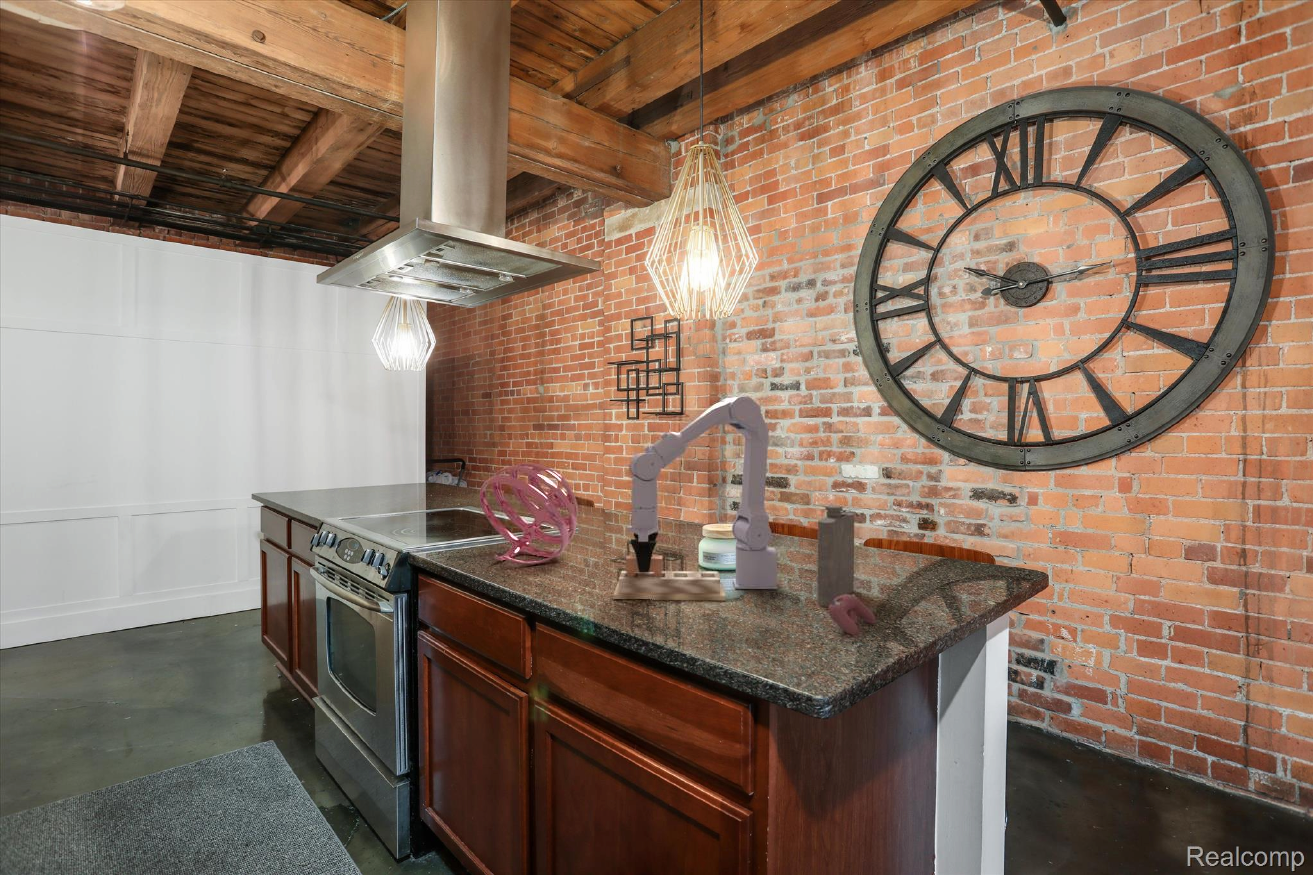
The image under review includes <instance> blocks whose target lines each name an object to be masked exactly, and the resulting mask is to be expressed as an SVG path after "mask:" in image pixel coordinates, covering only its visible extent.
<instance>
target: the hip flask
mask: <svg viewBox="0 0 1313 875" xmlns="http://www.w3.org/2000/svg"><path fill="white" fill-rule="evenodd" d="M824 510H826V513H825V514H826V516H824V517H821V519H819V520H817V588H816V589H817V593H816V594H817V596H816V597H817V600H816V601H817V602H816V603H817V605H818V606H820V607H821V606H822V607H829V605H830V604H832V602H833V601H834V599H835V598H836V597H838V596H840V595H844V594H848V595H850V594H851V593H854V590H855V588H854V587H855V586H854V584H855V581H854V580H855V513H853V512H852V513H851V512H842V511H843V506H841V505H836V504H835V505H831V504H829V505H825V508H824Z"/></svg>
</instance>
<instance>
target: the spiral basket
mask: <svg viewBox="0 0 1313 875" xmlns="http://www.w3.org/2000/svg"><path fill="white" fill-rule="evenodd" d="M530 467H532V468H530ZM507 471H510V472H509V475H507V474H506V475H505V474H503V473H505V472H507ZM541 472H545V474H546V473H547V474H548V475H549V476H551V477H552V478H553V479H555V480H556V481H557V482H558V483H559V485H561V486H562V488H564V490H566V492H567V494H566V492H565V491H564V490H563V489H561V488H560V487H559V486H558V485H556V483H555V482H553V481H552V480H551V479H550V478H548V477H547V476H545V475H544V474H542V473H541ZM520 473H523V474H526V475H527V476H528V482H529V483H528V482H526V481H525V480H522V479H520V478H519V474H520ZM539 482H541V483H542V484H543V485H545V486H546V487H547V488H548V489H549V490H550V491H551V492H550V493H548V492H546V491H545V490H544V489H543V487H542V485H541V484H540V483H539ZM490 484H491V486H492V492H493V496H494V498H495V500H496V502H497V504H498V506H499V507H500V509H501V510H502V512H503V513H504V514H505V515H506V517H507V518H508V519H509V520H510V521H511V522H512V523H513V524H514V525H516V526H517V528H519V529H521V531H522V532H523V535H522V536H521V537H517V536H516V535H514V534H513V533H512V532H510V531H509V530H508V529H507V528H506V527H505V525H503V523H501V521H500V520H499V519H498V518H497V516H496V515H495V514H494V511H493V509H492V508H491V507H490V504H489V501H488V499H487V491H486V490H487V486H488V485H490ZM501 484H506V485H508V486H510V487H511V490H512V492H513V494H514V496H515V498H516V499H517V500H518V502H519V503H520V504H521V506H522V507H523V508H524V509H526V510H527V512H528V513H530V514H531V515H533V517H534V521H533V522H532V523H528V521H525V519H523V518H522V517H521V516H520V515H519V514H518V513H517V512H516V511H515V510H514V509H513V507H511V504H509V502H508V500H507V499H506V496H505V495H504V492H503V489H502V485H501ZM526 494H527V495H528V496H530V497H531V498H532V499H534V500H535V501H536V502H537V503H538V504H539V505H541V507H542V508H539V507H538V506H537V505H535V503H533V502H532V500H531V499H529V497H528V496H527V495H526ZM574 494H575V493H574V491H573V490H572V488H571V487H570V485H569V483H568V481H567V480H566V479H565V478H564V477H563V476H562V475H561V474H560V473H558V472H557V471H555V470H554V469H552V468H549V467H546V466H544V465H541V464H538V463H533V462H523V463H519V464H516V465H509V466H505V467H503V468H501V469H499V470H498V471H497V472H496V473H495V474H494V475H493V476H491V477H489V478H488V479H487V480H486V481H484V483H483V484H482V486H481V488H480V491H479V502H480V506H481V509H482V511H483V513H484V515H485V517H486V519H487V520H488V521H489V523H490V524H491V526H492V527H493V528H494V529H495V530H496V531H497V532H498V533H499V534H500V535H501V536H502V537H503V538H504V539H505V540H506V541H508V542H509V543H510V544H511V546H512V547H511V548H510V549H509V550H508V551H506V552H505V553H504V554H503V555H501V556H500V555H499V556H498V555H497V554H496V553H495V554H493V558H494V559H495V560H497V561H499V562H504V561H503V560H505V561H508V562H510V563H512V564H516V565H520V566H536V565H535V564H538V565H541V564H540V563H542V564H545V563H547V562H550V561H552V560H554V559H555V558H556V557H558V556H559V555H560V554H561V553H562V552H563V551H564V550H565V549H566V548H567V546H569V543H570V541H571V540H572V538H573V537H574V534H575V532H576V530H577V521H578V520H577V518H578V514H579V508H578V502H577V498H576V496H575V495H574ZM555 496H556V497H557V498H556V497H555ZM573 506H574V507H573ZM559 509H566V511H567V512H568V516H566V517H563V515H562V514H561V512H560V511H559ZM544 523H545V524H549V525H551V526H554V527H557V529H558V531H559V535H554V534H550V533H547V532H543V531H542V530H541V528H540V527H541V526H542V524H544ZM534 539H535V540H539V541H541V542H544V543H548V544H553V545H561V546H560V547H559V548H557V549H556V550H545V549H544V550H543V549H541V548H537V547H535V546H532V545H531V544H530V542H531V541H532V540H534ZM522 552H524V553H527V554H529V555H531V554H532V555H531V556H534V555H537V556H536V557H538V556H544V557H548V558H544V557H543V559H539V560H533V561H528V560H527V561H526V560H519V559H516V558H514V557H516V555H518V554H519V553H522ZM512 556H514V557H512ZM510 557H512V558H510Z"/></svg>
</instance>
